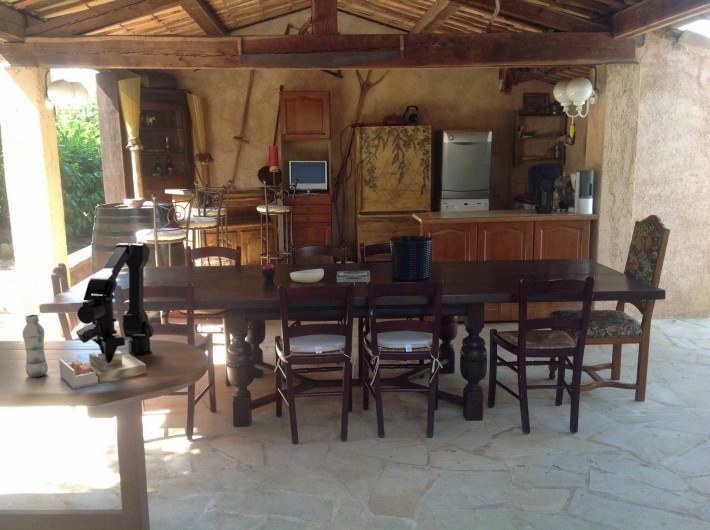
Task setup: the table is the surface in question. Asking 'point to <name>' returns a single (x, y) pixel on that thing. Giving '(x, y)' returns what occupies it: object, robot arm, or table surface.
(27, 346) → the plastic bottle
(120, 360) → the scraper
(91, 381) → the box
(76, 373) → the tile
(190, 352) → the table surface
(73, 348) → the table surface
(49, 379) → the table surface
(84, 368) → the tile
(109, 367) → the board
